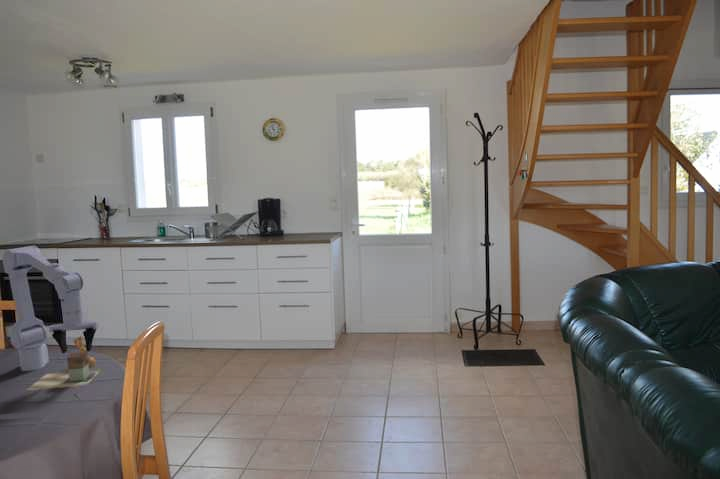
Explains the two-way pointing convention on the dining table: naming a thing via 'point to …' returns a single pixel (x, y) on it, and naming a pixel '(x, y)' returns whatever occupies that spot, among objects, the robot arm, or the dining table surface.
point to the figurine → (84, 350)
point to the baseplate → (61, 380)
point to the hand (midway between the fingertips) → (76, 351)
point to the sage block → (79, 373)
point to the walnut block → (77, 360)
